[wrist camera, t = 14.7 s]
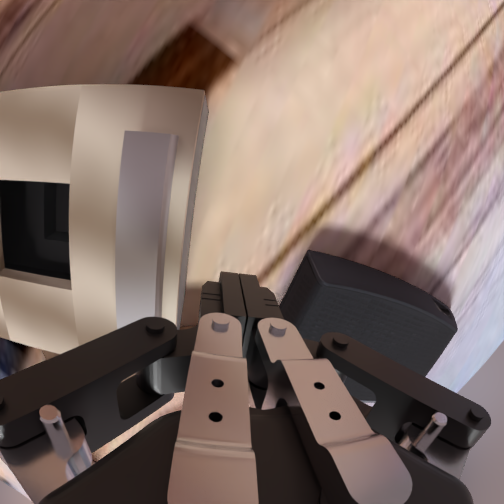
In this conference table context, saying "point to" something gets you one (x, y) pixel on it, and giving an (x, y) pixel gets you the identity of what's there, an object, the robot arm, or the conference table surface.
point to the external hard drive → (368, 313)
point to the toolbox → (64, 224)
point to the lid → (101, 205)
